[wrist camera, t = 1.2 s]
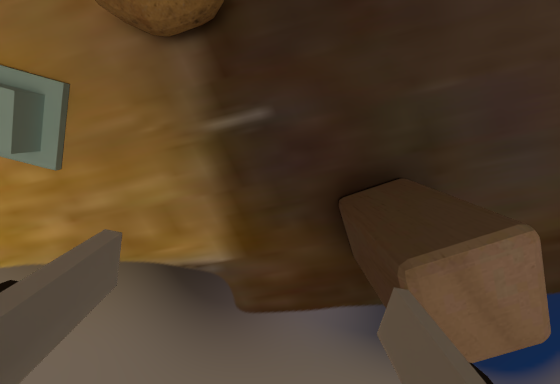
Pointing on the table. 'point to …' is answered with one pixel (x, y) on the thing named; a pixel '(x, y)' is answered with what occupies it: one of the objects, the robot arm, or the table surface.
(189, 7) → the potato
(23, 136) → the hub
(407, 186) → the wooden block
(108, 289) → the robot arm
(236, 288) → the table surface
